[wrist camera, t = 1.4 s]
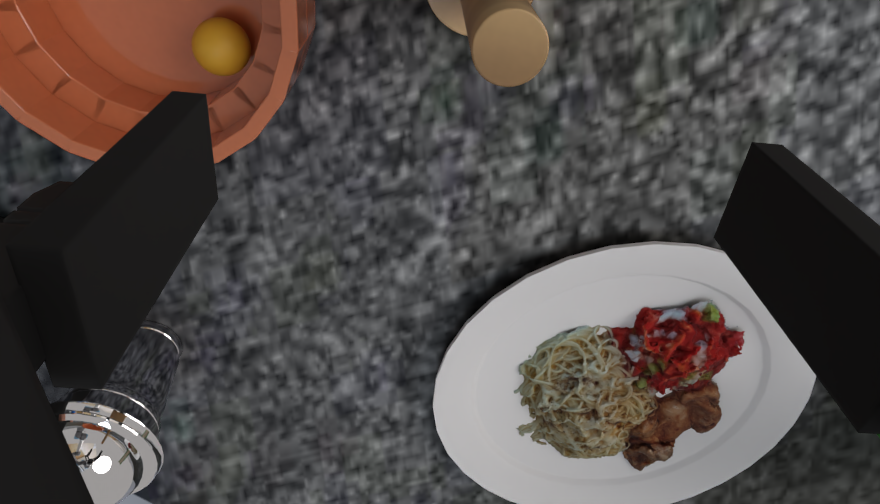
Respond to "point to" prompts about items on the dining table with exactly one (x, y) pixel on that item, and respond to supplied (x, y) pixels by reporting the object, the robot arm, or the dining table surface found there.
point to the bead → (221, 46)
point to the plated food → (619, 379)
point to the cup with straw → (122, 417)
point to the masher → (498, 37)
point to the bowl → (143, 66)
